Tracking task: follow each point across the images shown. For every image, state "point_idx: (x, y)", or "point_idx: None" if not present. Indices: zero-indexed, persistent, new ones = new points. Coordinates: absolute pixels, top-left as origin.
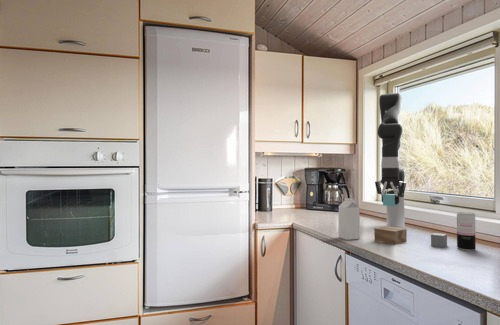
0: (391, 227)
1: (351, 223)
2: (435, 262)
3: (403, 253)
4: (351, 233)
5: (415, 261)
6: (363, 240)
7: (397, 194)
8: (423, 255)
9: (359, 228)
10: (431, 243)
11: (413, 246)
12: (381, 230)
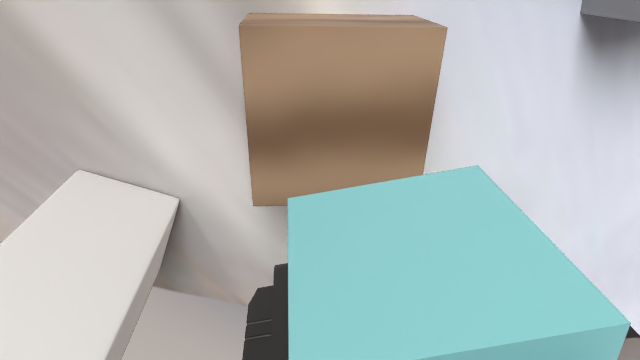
0: (316, 66)
1: (134, 318)
2: (620, 293)
3: None
4: (156, 267)
5: None
6: (214, 203)
7: None
8: (570, 245)
9: (160, 241)
10: (594, 14)
11: (492, 121)
12: None
